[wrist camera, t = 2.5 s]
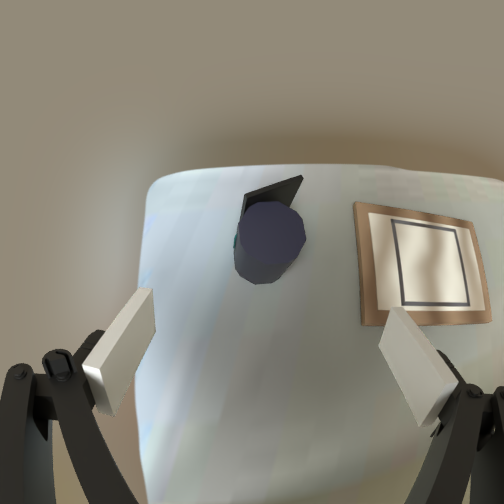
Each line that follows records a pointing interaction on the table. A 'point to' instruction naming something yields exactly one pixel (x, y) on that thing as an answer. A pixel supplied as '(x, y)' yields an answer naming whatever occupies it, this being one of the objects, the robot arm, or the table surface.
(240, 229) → the speaker
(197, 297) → the table surface
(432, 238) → the picture frame
